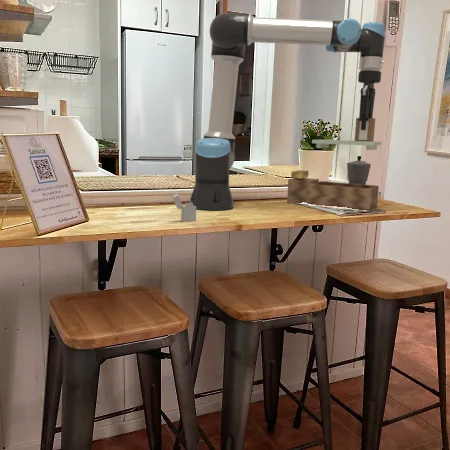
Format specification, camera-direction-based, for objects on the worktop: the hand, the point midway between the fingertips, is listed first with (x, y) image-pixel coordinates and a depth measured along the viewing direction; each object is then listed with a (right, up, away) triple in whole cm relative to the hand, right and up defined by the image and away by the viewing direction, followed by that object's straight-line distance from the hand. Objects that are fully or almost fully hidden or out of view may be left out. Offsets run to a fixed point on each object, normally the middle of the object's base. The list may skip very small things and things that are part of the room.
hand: (363, 139), depth 179 cm
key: (-21, -12, +13) cm, 27 cm away
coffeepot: (+3, -21, +23) cm, 31 cm away
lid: (-5, -3, +3) cm, 7 cm away
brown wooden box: (-10, -23, +9) cm, 27 cm away
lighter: (-61, -29, -30) cm, 74 cm away
